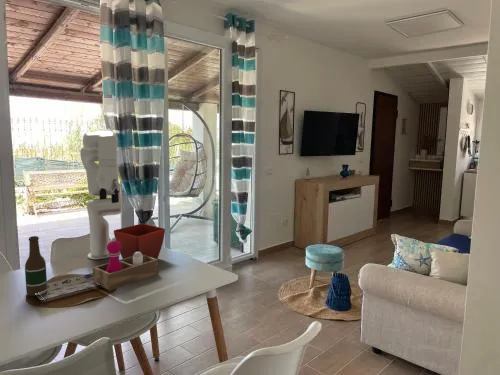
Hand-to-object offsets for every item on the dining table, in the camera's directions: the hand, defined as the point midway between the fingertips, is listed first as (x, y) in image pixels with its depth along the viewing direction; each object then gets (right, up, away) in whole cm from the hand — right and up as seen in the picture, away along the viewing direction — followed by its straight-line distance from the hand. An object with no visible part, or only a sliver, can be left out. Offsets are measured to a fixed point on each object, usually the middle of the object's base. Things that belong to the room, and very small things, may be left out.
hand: (109, 200), depth 168 cm
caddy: (+7, -36, +3) cm, 37 cm away
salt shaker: (+11, -35, +7) cm, 37 cm away
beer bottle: (-25, -38, -13) cm, 47 cm away
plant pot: (+6, -33, +29) cm, 44 cm away
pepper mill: (+3, -36, -2) cm, 36 cm away
